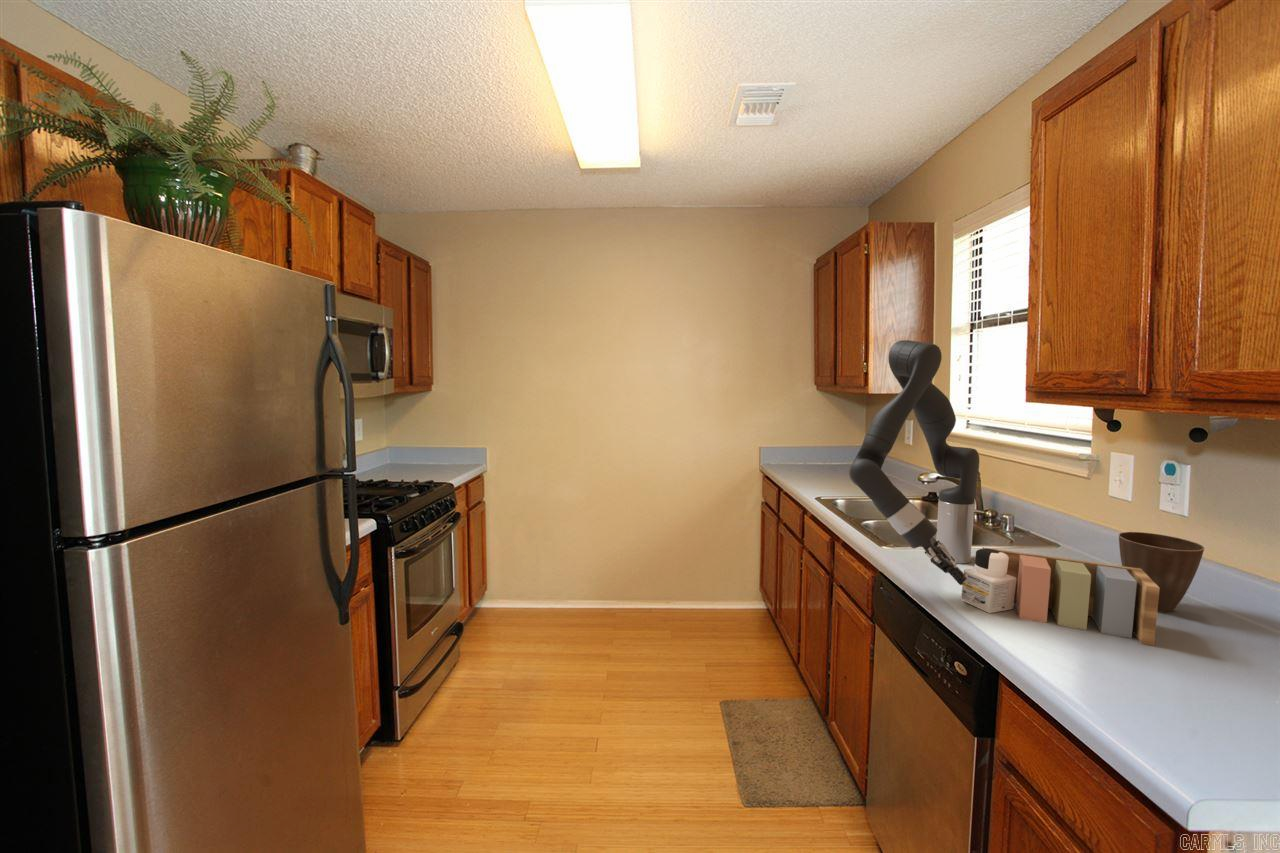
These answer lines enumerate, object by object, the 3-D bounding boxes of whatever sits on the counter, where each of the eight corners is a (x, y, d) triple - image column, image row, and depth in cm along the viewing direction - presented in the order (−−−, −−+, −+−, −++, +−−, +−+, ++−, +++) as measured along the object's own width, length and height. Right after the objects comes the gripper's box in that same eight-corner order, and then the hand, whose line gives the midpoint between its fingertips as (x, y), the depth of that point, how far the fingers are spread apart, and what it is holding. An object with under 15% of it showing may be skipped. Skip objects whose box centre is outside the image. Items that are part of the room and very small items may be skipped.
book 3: (1092, 617, 130) (1097, 565, 129) (1120, 622, 127) (1125, 569, 126) (1101, 632, 122) (1106, 577, 121) (1131, 637, 120) (1136, 581, 118)
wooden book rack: (979, 594, 142) (982, 547, 141) (1136, 621, 128) (1140, 568, 127) (981, 614, 130) (984, 562, 129) (1154, 646, 116) (1159, 588, 115)
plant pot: (1202, 609, 135) (1209, 542, 134) (1191, 625, 126) (1198, 554, 125) (1121, 590, 147) (1127, 528, 145) (1105, 604, 138) (1111, 538, 136)
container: (959, 600, 138) (965, 547, 136) (983, 596, 140) (989, 544, 139) (989, 613, 130) (996, 558, 129) (1013, 609, 133) (1020, 555, 132)
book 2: (1052, 610, 133) (1056, 559, 132) (1078, 614, 131) (1083, 563, 130) (1057, 624, 126) (1062, 570, 124) (1086, 629, 123) (1091, 575, 122)
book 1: (1016, 604, 137) (1019, 554, 136) (1041, 608, 134) (1045, 558, 133) (1019, 617, 129) (1023, 565, 128) (1046, 622, 127) (1050, 569, 125)
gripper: (922, 521, 135) (979, 582, 130) (925, 510, 146) (977, 565, 142) (896, 539, 138) (950, 600, 133) (901, 527, 149) (951, 582, 145)
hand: (964, 582), depth 137 cm, fingers closed
